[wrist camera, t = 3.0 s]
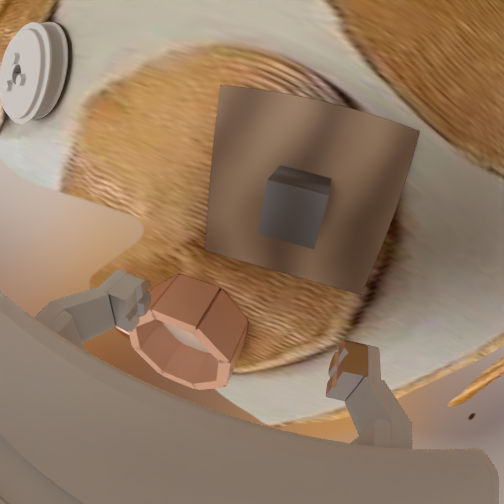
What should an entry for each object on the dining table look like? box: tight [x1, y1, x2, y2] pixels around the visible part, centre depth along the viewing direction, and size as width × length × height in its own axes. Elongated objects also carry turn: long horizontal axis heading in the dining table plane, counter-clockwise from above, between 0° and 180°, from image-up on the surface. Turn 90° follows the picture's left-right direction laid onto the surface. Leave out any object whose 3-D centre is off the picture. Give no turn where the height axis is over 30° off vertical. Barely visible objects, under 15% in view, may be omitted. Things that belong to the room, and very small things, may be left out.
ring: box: [129, 274, 249, 390], centre depth 31 cm, size 12×12×6 cm
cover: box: [205, 85, 420, 295], centre depth 21 cm, size 15×15×5 cm
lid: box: [0, 22, 68, 124], centre depth 20 cm, size 13×13×5 cm
